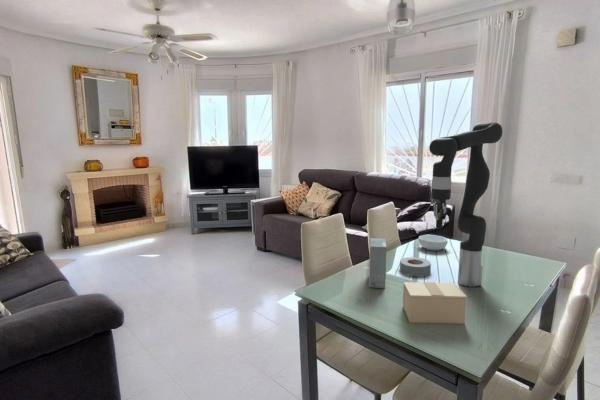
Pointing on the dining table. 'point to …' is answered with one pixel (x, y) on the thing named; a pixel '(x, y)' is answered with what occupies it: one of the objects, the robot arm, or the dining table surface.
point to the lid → (434, 290)
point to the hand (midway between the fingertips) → (439, 228)
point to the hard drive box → (377, 263)
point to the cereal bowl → (433, 242)
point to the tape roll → (415, 266)
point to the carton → (434, 309)
